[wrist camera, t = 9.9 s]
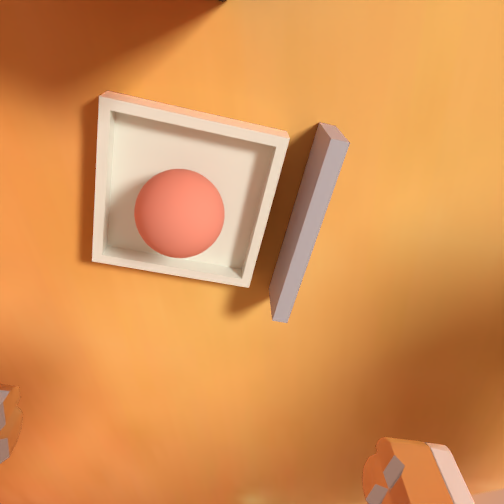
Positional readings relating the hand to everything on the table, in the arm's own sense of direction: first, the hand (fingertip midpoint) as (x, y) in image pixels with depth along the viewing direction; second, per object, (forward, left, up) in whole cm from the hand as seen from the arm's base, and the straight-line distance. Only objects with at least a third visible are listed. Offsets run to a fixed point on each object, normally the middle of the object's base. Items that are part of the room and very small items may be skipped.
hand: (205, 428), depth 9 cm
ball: (+2, +2, -15) cm, 16 cm away
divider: (-5, +2, -18) cm, 19 cm away
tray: (+2, +2, -18) cm, 18 cm away
